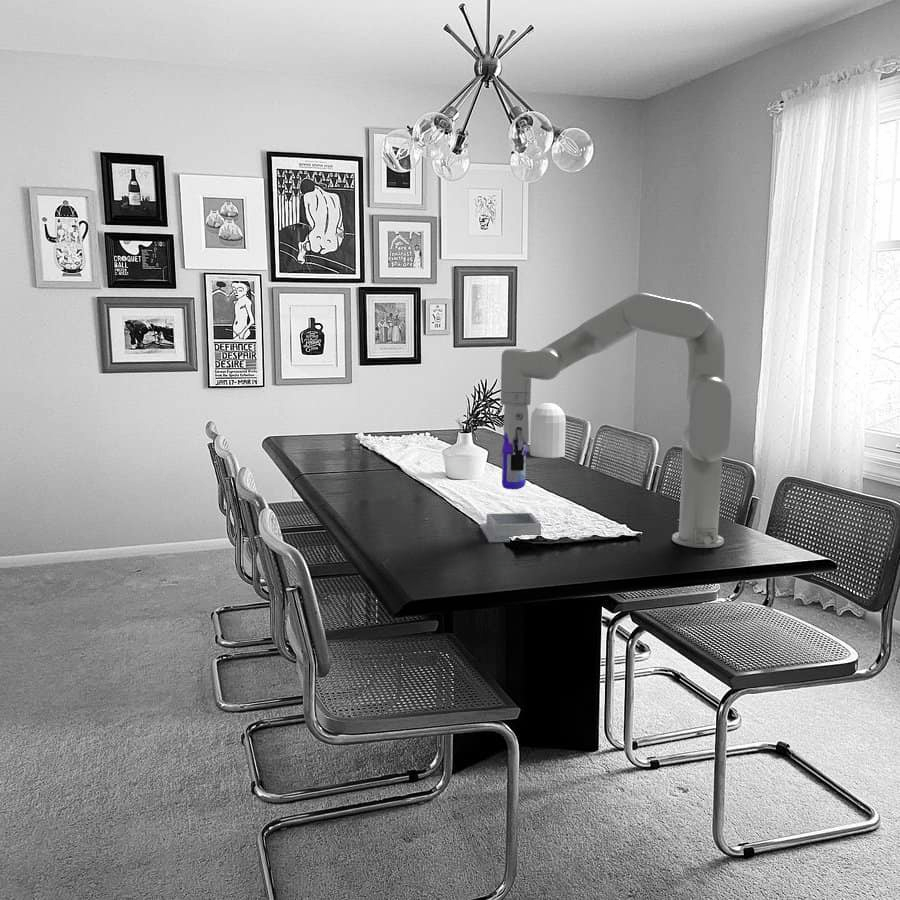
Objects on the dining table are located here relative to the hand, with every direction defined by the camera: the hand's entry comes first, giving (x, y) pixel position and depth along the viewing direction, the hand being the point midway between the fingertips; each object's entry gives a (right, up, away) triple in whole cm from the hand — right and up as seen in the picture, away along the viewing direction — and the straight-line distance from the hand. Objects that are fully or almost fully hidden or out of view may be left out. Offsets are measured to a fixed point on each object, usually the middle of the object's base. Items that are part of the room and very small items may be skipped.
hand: (514, 466), depth 236 cm
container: (+21, +2, +118) cm, 120 cm away
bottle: (0, -5, +1) cm, 6 cm away
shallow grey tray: (0, -17, +3) cm, 18 cm away
